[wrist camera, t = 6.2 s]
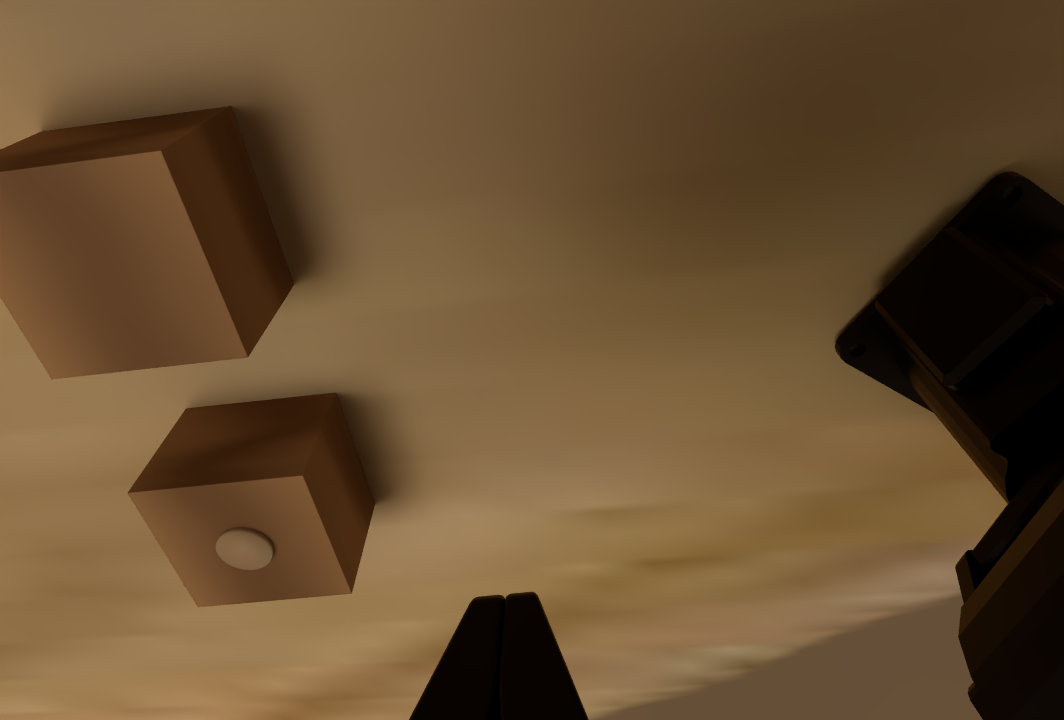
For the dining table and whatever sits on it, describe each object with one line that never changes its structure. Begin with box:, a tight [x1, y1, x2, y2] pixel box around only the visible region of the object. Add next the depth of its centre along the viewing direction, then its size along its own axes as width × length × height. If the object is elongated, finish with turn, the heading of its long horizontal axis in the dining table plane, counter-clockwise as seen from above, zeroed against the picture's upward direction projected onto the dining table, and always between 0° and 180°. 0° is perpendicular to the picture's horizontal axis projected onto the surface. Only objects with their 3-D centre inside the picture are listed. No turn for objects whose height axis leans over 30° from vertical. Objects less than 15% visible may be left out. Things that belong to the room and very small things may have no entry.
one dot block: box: [128, 393, 375, 607], centre depth 22 cm, size 5×5×4 cm
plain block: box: [0, 106, 294, 379], centre depth 17 cm, size 5×5×4 cm
